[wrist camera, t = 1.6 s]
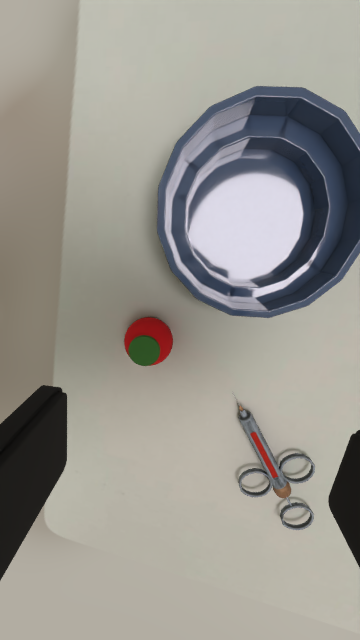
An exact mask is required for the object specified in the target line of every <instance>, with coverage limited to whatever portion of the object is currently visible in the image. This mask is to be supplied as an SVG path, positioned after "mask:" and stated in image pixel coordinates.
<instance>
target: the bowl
mask: <svg viewBox="0 0 360 640" xmlns="http://www.w3.org/2000/svg"><path fill="white" fill-rule="evenodd" d="M157 233H158V235H159V238H160V241H161V244H162V246H163V249H164V252H165V255H166V258H167V260H168V263H169V266H170V269H171V270H172V272H173V273H174V274H175V275H176V276H177V277H178V279H179V280H180V281H181V282H182V283H183V284H184V285H185V286H186V288H187V289H188V290H189V291H190V292H191V293H192V294H193V295H194V296H195V298H196V299H198V300H200V301H202V302H204V303H206V304H208V305H210V306H212V307H214V308H216V309H218V310H220V311H223V312H225V313H227V314H229V315H232V316H247V317H263V318H270V317H274V316H277V315H280V314H283V313H286V312H290V311H293V310H296V309H299V308H302V307H306V306H308V305H309V304H311V303H312V302H313V301H315V300H316V299H317V298H319V297H320V296H321V295H323V294H324V293H325V292H327V291H328V290H329V289H331V288H332V287H333V286H334V285H336V284H337V283H338V282H340V281H341V280H342V279H343V277H344V276H345V274H346V273H347V271H348V270H349V268H350V267H351V265H352V264H353V262H354V261H355V259H356V258H357V256H358V255H359V253H360V133H359V132H358V130H357V128H356V127H355V125H354V124H353V122H352V121H351V119H350V118H349V116H348V115H347V113H346V112H345V111H344V110H343V109H341V108H339V107H337V106H336V105H334V104H332V103H330V102H328V101H327V100H325V99H323V98H321V97H320V96H318V95H316V94H314V93H313V92H311V91H309V90H307V89H305V88H302V87H269V86H256V87H253V88H251V89H248V90H246V91H244V92H242V93H239V94H237V95H235V96H232V97H230V98H228V99H226V100H223V101H221V102H219V103H217V104H214V105H212V106H211V107H209V108H208V109H207V110H206V111H205V112H204V114H203V115H202V116H201V117H200V118H199V119H198V120H197V121H196V122H195V123H194V124H193V125H192V126H191V127H190V128H189V129H188V130H187V132H186V133H185V134H184V135H183V136H182V137H181V138H180V139H179V140H178V141H177V143H176V144H175V147H174V149H173V152H172V154H171V156H170V159H169V161H168V164H167V166H166V169H165V171H164V174H163V176H162V179H161V181H160V183H159V187H158V215H157Z"/></svg>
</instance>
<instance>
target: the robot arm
mask: <svg viewBox="0 0 360 640" xmlns="http://www.w3.org/2000/svg"><path fill="white" fill-rule="evenodd" d="M66 461H67V394H66V393H63V392H62V389H61V388H60V387H53V386H45V385H43V386H41V387H40V388H39V389H37V390H36V391H35V392H34V393H33V394H32V395H31V396H30V397H29V398H28V399H27V400H26V401H25V402H24V403H23V404H21V405H20V406H19V407H18V408H17V409H16V410H15V411H14V412H13V413H12V414H11V415H10V416H9V417H8V418H6V419H5V420H4V421H3V422H2V423H1V424H0V580H1V578H2V577H3V575H4V573H5V571H6V570H7V568H8V566H9V564H10V563H11V561H12V559H13V557H14V556H15V554H16V552H17V550H18V549H19V547H20V545H21V544H22V542H23V540H24V538H25V537H26V535H27V533H28V531H29V530H30V528H31V526H32V524H33V523H34V521H35V519H36V517H37V516H38V514H39V512H40V510H41V509H42V507H43V505H44V504H45V502H46V500H47V498H48V497H49V495H50V493H51V491H52V490H53V488H54V486H55V484H56V483H57V481H58V479H59V477H60V476H61V474H62V472H63V470H64V468H65V465H66ZM329 507H330V510H331V512H332V514H333V516H334V518H335V520H336V522H337V524H338V526H339V528H340V530H341V532H342V534H343V536H344V538H345V540H346V542H347V544H348V546H349V548H350V550H351V551H352V553H353V555H354V557H355V559H356V561H357V563H358V565H359V567H360V430H358V431H357V432H356V434H353V435H352V436H351V438H350V440H349V443H348V446H347V448H346V451H345V454H344V457H343V459H342V462H341V465H340V467H339V470H338V473H337V476H336V478H335V481H334V484H333V486H332V489H331V492H330V495H329Z"/></svg>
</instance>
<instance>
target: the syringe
mask: <svg viewBox="0 0 360 640" xmlns="http://www.w3.org/2000/svg"><path fill="white" fill-rule="evenodd" d="M232 393H233V392H232ZM233 395H234V393H233ZM234 396H235V395H234ZM235 398H236V397H235ZM236 400H237V399H236ZM237 402H238V401H237ZM238 404H239V403H238ZM239 410H240V413H241V414H240V415H239V420H240V422H241V424H242V426H243V428H244V430H245V432H246V434H247V436H248V438H249V440H250V442H251V444H252V446H253V447H254V449H255V451H256V453H257V455H258V457H259V459H260V461H261V463H262V465H263V467H264V468H265V470H266V471H264V470H262V469H258V468H253V469H248V470H246V471H244V472H243V473H242V474H241V475H240V477H239V487H240V490H241V492H243V493H244V494H245V495H247V496H250V497H261V496H264V495H266V494H267V493H268V492H269V491H270V490H271V488H272V486H273V490H274V491H275V493H276V494H277V496H279V497H280V498H286V499H287V501H288V503H289V504H288V505H286V506H285V507H284V508H283V509H282V510H281V513H280V517H281V520H282V524H283V525H284V526H286V527H287V528H289V529H292V530H301V529H305V528H307V527H308V526H309V525H311V523H312V522H313V519H314V514H313V512H312V510H311V509H310V508H309V507H308V506H307V505H305V504H303V503H297V502H296V503H290V501H289V499H288V496H289V495H290V494H291V487H290V484H289V483H288V482H291V483H303V482H305V481H308V480H309V479H310V478H311V477H312V476H313V474H314V472H315V465H314V464H313V462H312V461H311V459H310V458H309V457H307V456H306V455H304V454H299V453H295V454H290V455H288V456H286V457H284V458H283V459H282V461H281V462H280V466H279V467H278V465H277V463H276V461H275V459H274V457H273V455H272V453H271V451H270V449H269V447H268V445H267V443H266V441H265V439H264V437H263V435H262V433H261V431H260V429H259V427H258V425H257V424H256V422H255V420H254V418H253V416H252V414H251V412H248V411H245V410H244V409H243V408H242V407H241V406H240V405H239ZM295 458H304V459H306V460H308V461H309V462H310V463H311V469H310V471H309V473H308V474H307V475H306V476H304V477H302V478H298V479H293V478H289V477H286V476H285V475H284V474H283V473H282V468H283V465H284V464H285V463H286V462H287V461H289V460H291V459H295ZM253 473H261V474H263V475H265V476H267V477H268V478H269V485H268V487H267V488H266V489H265V490H263V491H261V492H249V491H246V490H245V489H244V488H242V486H241V481H242V479H243V478H244V477H245V476H247V475H249V474H253ZM298 507H299V508H304V509H306V510H308V511H309V512H310V517H309V519H308V520H307V521H306V522H305V523H302V524H299V525H292V524H289V523H286V522H285V521H284V520H283V516H284V514H285V513H286V512H287V511H288V510H290V509H292V508H298Z"/></svg>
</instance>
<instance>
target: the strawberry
mask: <svg viewBox="0 0 360 640" xmlns="http://www.w3.org/2000/svg"><path fill="white" fill-rule="evenodd" d="M124 345H125V349H126V352H127V354H128V355H129V357H130V358H131V359H132V360H133V361H134V362H135V363H136V364H138V365H141V366H150V365H156V364H158V363H160V362H162V361H163V360H164V359H166V357H167V356H168V355H169V353H170V351H171V349H172V345H173V338H172V334H171V331H170V329H169V328H168V326H167V325H166V324H165V323H164V322H162V321H161V320H159V319H156V318H152V317H146V318H141V319H139V320H137V321H135V322H134V323H133V324H132V325H131V326H130V327H129V328H128V330H127V332H126V334H125V339H124Z"/></svg>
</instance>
